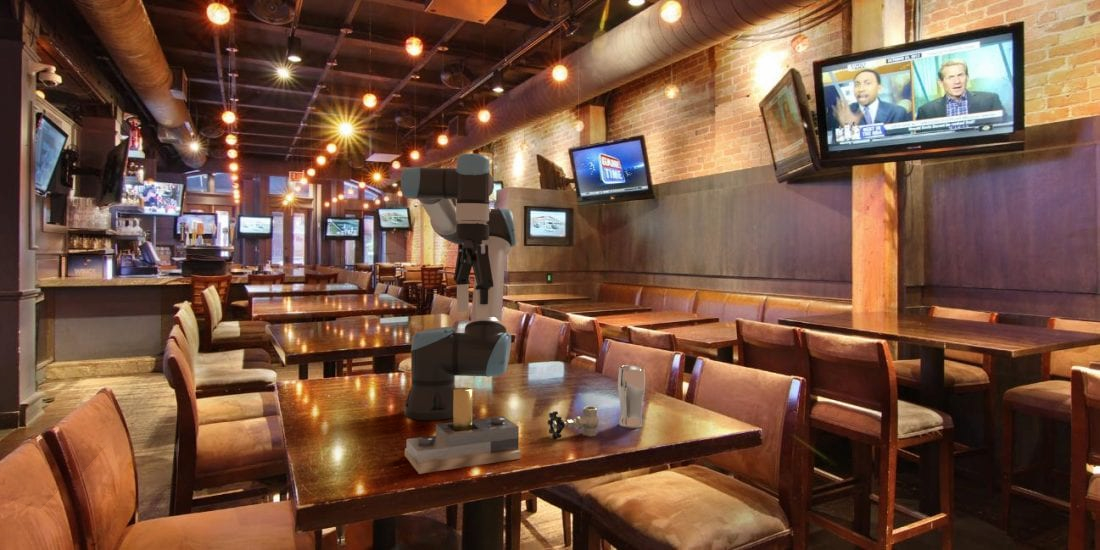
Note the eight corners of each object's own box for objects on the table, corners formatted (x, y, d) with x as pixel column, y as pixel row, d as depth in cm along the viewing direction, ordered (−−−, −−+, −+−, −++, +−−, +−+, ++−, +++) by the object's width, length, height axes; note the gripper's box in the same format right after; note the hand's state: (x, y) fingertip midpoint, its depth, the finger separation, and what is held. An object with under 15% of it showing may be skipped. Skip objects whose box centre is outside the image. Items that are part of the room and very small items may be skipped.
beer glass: (643, 429, 150) (644, 370, 150) (615, 427, 151) (617, 369, 151) (644, 422, 157) (646, 365, 156) (618, 420, 158) (619, 364, 158)
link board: (419, 473, 117) (419, 466, 117) (404, 455, 128) (404, 448, 128) (521, 458, 127) (521, 451, 127) (499, 442, 138) (499, 436, 138)
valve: (590, 430, 149) (547, 435, 144) (591, 404, 149) (547, 408, 144) (603, 437, 143) (558, 443, 138) (604, 410, 143) (559, 415, 138)
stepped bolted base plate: (417, 463, 118) (417, 434, 118) (406, 450, 126) (406, 422, 126) (518, 449, 128) (518, 421, 128) (502, 437, 136) (502, 411, 136)
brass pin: (449, 451, 127) (449, 390, 126) (459, 445, 130) (459, 386, 130) (465, 453, 125) (466, 392, 125) (475, 448, 129) (475, 388, 128)
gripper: (509, 222, 127) (507, 321, 128) (470, 223, 149) (469, 308, 150) (475, 221, 123) (474, 323, 125) (441, 223, 146) (440, 309, 147)
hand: (472, 315), depth 138 cm, fingers open, 13 cm apart
